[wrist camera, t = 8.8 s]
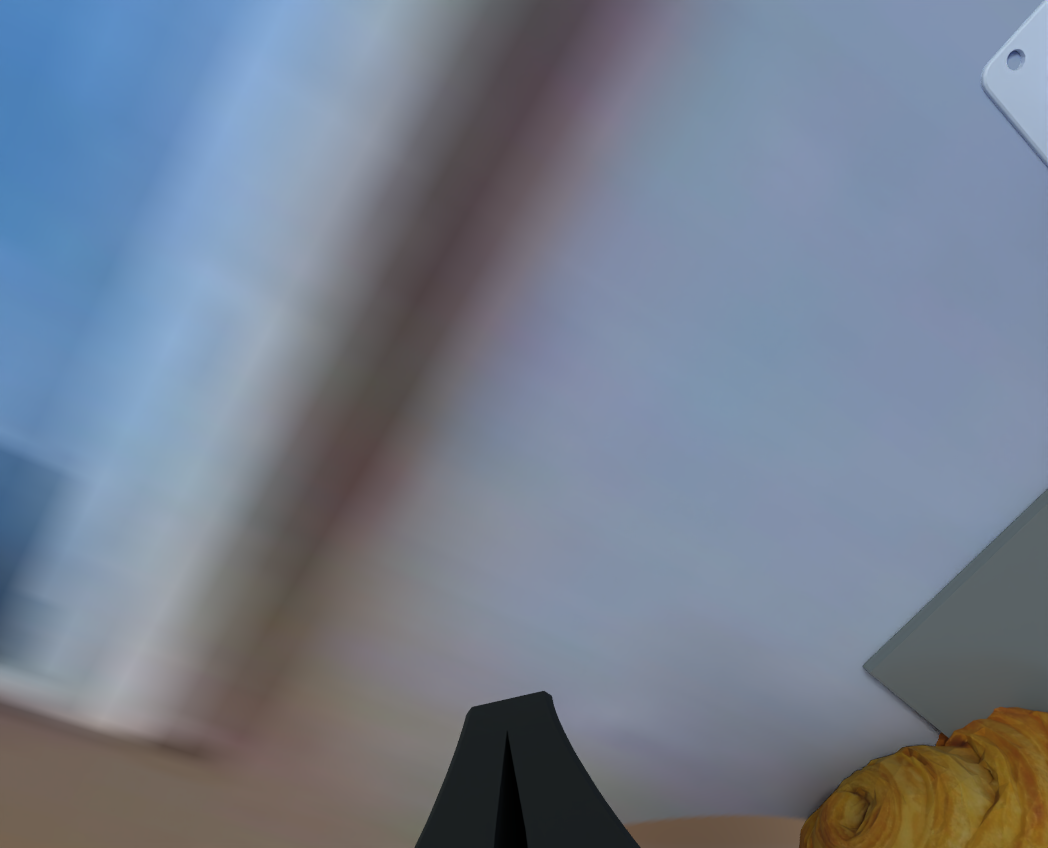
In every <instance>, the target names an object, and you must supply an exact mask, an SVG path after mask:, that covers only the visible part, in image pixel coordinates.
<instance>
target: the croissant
mask: <svg viewBox="0 0 1048 848" xmlns="http://www.w3.org/2000/svg"><path fill="white" fill-rule="evenodd" d="M799 848H1048V712H1041V711H1032V710H1028V709H1024V708H1019V707H1009V708H1005V707H999V708H995V709H994V711H993V713H992V714H991V715H990V716H989V717H988V718H987V719H978V720H973V721H972V722H970V723H969V724H968V725H966V726H965V727H963V728H961V729H958V730H955V731H954V732H953V733H952V735H951V737H950V738H948V737H947V736H946V735H945V734H943V733H942V732H941V733H940V735H939V739H938V741H937V743H936V746H926V745H918V746H910V747H902V748H901V749H900V750H899V751H898V752H896V753H895V754H893V755H889V756H886V757H882V758H878V759H875V760H871V761H870V763H869V764H868V765H867V766H866V767H864V768H863V769H862V770H859V771H856V772H854V773H853V774H852V775H851V776H850V777H848V778H846V779H845V780H843V781H842V783H841V784H840V786H839V787H838V788H837V789H836V790H835V791H834V792H833V793H832V795H831V796H830V797H829V798H828V799H827V800H826V801H825V802H824V803H823V804H822V805H821V806H820V807H819V808H818V809H817V810H816V811H815V812H814V813H813V814H812V815H811V816H810V817H809V818H808V819H807V820H806V822H805V823H804V825H803V827H802V829H801V834H800V845H799Z"/></svg>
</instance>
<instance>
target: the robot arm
mask: <svg viewBox="0 0 1048 848" xmlns="http://www.w3.org/2000/svg"><path fill="white" fill-rule="evenodd" d="M1012 51H1017V52H1018V53H1019V54H1020V56H1021V64H1020V65H1019V67H1018V69H1016V70H1014V71H1012V70H1011V69H1009V68H1008V66H1007V57H1008V55H1009V54H1010V52H1012ZM981 86H982V88H983V90H984V92H985V93H986V94H987V95H988V96H989V98H990V99H991V100H992V101H993V102H994V104H995V105H996V106H997V107H998V108H999V110H1000V111H1001V112H1002V113H1003V114H1004V115H1005V117H1006V118H1007V119H1008V120H1009V121H1010V123H1011V124H1012V125H1013V126H1014V127H1015V129H1016V130H1017V131H1018V132H1019V133H1020V135H1021V136H1022V137H1023V138H1024V139H1025V141H1026V142H1027V143H1028V144H1029V145H1030V146H1031V148H1032V149H1033V150H1034V151H1035V152H1036V154H1037V155H1038V156H1039V157H1040V158H1041V160H1042V161H1043V162H1044V163H1045V164H1046V166H1047V167H1048V0H1044V1H1043V2H1042V3H1041V4H1040V5H1039V6H1038V7H1037V8H1036V10H1035V11H1034V12H1033V13H1032V14H1031V15H1030V16H1029V17H1028V18H1027V19H1026V21H1025V22H1024V23H1023V24H1022V25H1021V26H1020V27H1019V28H1018V29H1017V31H1016V32H1015V33H1014V34H1013V35H1012V36H1011V37H1010V38H1009V39H1008V40H1007V42H1006V43H1005V44H1004V45H1003V46H1002V47H1001V48H1000V49H999V50H998V52H997V53H996V54H995V55H994V56H993V57H992V58H991V59H990V60H989V61H988V63H987V64H986V65H985V67H984V69H983V70H982V74H981ZM415 848H640V846H639V845H638V844H637V843H636V841H635V840H634V839H633V838H632V836H631V835H630V834H629V832H628V831H627V830H626V828H625V827H624V826H623V824H622V823H621V822H620V820H619V819H618V817H617V816H616V815H615V813H614V812H613V810H612V809H611V808H610V806H609V805H608V804H607V802H606V801H605V799H604V798H603V796H602V795H601V793H600V792H599V790H598V789H597V787H596V786H595V784H594V782H593V781H592V779H591V778H590V776H589V774H588V773H587V771H586V770H585V768H584V766H583V765H582V763H581V761H580V760H579V758H578V756H577V755H576V753H575V751H574V749H573V747H572V746H571V744H570V742H569V740H568V738H567V736H566V734H565V732H564V730H563V728H562V725H561V723H560V721H559V719H558V716H557V713H556V711H555V708H554V704H553V700H552V696H551V695H550V694H548V693H546V692H545V691H541V692H537V693H532V694H528V695H523V696H519V697H515V698H510V699H506V700H501V701H497V702H492V703H488V704H484V705H479V706H475V707H472V708H471V709H470V710H469V712H468V713H467V715H466V718H465V722H464V725H463V729H462V732H461V735H460V738H459V741H458V744H457V747H456V750H455V753H454V756H453V758H452V761H451V764H450V766H449V769H448V772H447V774H446V777H445V779H444V782H443V784H442V787H441V789H440V792H439V794H438V796H437V799H436V801H435V804H434V806H433V809H432V811H431V813H430V816H429V818H428V820H427V822H426V825H425V827H424V829H423V831H422V833H421V835H420V837H419V839H418V841H417V844H416V846H415Z"/></svg>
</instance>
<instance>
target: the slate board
mask: <svg viewBox="0 0 1048 848" xmlns="http://www.w3.org/2000/svg"><path fill="white" fill-rule="evenodd" d="M863 667H864V668H865V669H866V670H867V671H868V672H869V673H870V674H871V675H872V676H873V677H875V678H876V679H877V680H878V681H880V682H881V683H882V684H883V685H884V686H886V687H887V688H888V689H889V690H891V691H892V692H893V693H894V694H896V695H897V696H898V697H899V698H900V699H902V700H903V701H904V702H905V703H907V704H908V705H909V706H910V707H911V708H913V709H914V710H915V711H916V712H918V713H919V714H920V715H921V716H922V717H924V718H925V719H926V720H927V721H929V722H930V723H931V724H932V725H933V726H935V727H936V728H937V729H938V730H940V731H941V732H942V733H943V734H945V735H946V736H947V737H948V738H950V737H951V735H952V733H953V732H954V731H955V730H958V729H961V728H963V727H965V726H966V725H968V724H969V723H970V722H972V721H973V720H978V719H987V718H988V717H989V716H990V715H991V714H992V713H993V711H994V709H995V708H999V707H1005V708H1009V707H1019V708H1024V709H1028V710H1032V711H1041V712H1048V489H1047V490H1046V491H1045V492H1044V493H1043V494H1042V495H1041V496H1040V497H1039V498H1038V499H1037V500H1036V501H1035V502H1034V503H1033V504H1032V505H1031V506H1029V507H1028V508H1027V509H1026V510H1025V511H1024V512H1023V513H1022V514H1021V515H1020V516H1019V517H1018V518H1017V519H1016V520H1015V521H1014V522H1013V523H1012V524H1011V525H1010V526H1009V527H1008V528H1006V529H1005V530H1004V531H1003V532H1002V533H1001V534H1000V535H999V536H998V537H997V538H996V539H995V540H994V541H993V542H992V543H991V544H990V545H989V546H988V547H987V548H986V549H985V550H983V551H982V552H981V553H980V554H979V555H978V556H977V557H976V558H975V559H974V560H973V561H972V562H971V563H970V564H969V565H968V566H967V567H966V568H965V569H964V570H963V571H961V572H960V573H959V574H958V575H957V576H956V577H955V578H954V579H953V580H952V581H951V582H950V583H949V584H948V585H947V586H946V587H945V588H944V589H943V590H942V591H941V592H940V593H938V594H937V595H936V596H935V597H934V598H933V599H932V600H931V601H930V602H929V603H928V604H927V605H926V606H925V607H924V608H923V609H922V610H921V611H920V612H919V613H918V614H917V615H915V616H914V617H913V618H912V619H911V620H910V621H909V622H908V623H907V624H906V625H905V626H904V627H903V628H902V629H901V630H900V631H899V632H898V633H897V634H896V635H895V636H894V637H892V638H891V639H890V640H889V641H888V642H887V643H886V644H885V645H884V646H883V647H882V648H881V649H880V650H879V651H878V652H877V653H876V654H875V655H874V656H873V657H872V658H870V659H869V660H868V661H867V662H866V663H865V664H864V665H863Z"/></svg>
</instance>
